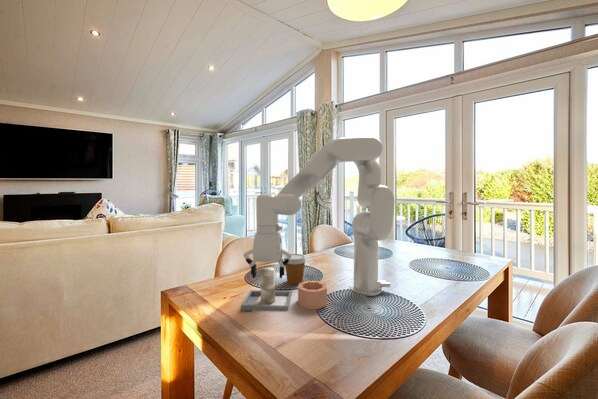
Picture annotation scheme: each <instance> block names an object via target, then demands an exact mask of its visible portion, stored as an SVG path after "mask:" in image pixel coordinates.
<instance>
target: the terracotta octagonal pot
mask: <svg viewBox="0 0 598 399" xmlns="http://www.w3.org/2000/svg"><path fill="white" fill-rule="evenodd" d="M327 286H328V285H327V283H325V282H322V281H320V280H305V281H303V282H302V283H299V284H298V286H297V306H300V307H301V308H303V309H307V310H310V309H311V310H320V309H322V308H324V307H327V306H328V287H327Z"/></svg>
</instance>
